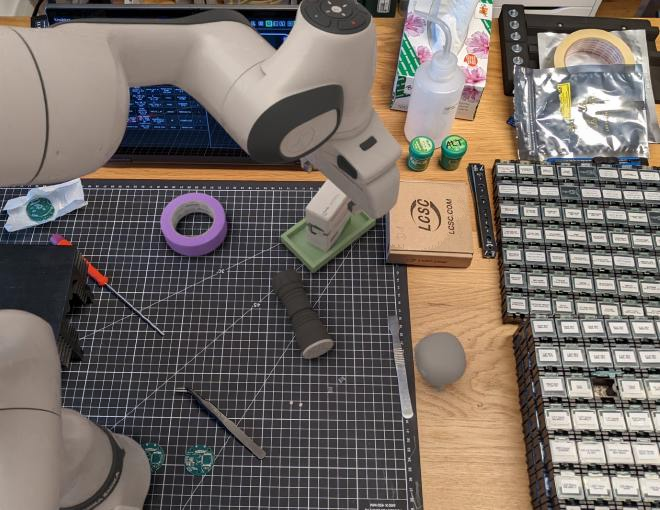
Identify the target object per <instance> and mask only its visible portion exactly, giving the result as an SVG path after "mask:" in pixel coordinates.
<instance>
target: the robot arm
mask: <svg viewBox="0 0 660 510" xmlns="http://www.w3.org/2000/svg"><path fill="white" fill-rule="evenodd" d="M377 65H378V34H377V28H376V23H375V20H374V18H373V15H372V14H371V11H369V10H368V9H367V8H366V7H365V6H364V5H363V4H361V3H360V2H359V1H357V0H302V1H300V3H299V5H298V8H297V10H296V16H295V21H294V24H293V26H292V28H291V30H290V32H289V33H288V35H287V36H286V38H285V40H284V41H283V42H282V44H280V46H279V47H278V49H276V48H275V47H273V45H271V44H270V42H268V41H267V40H266V39H265V38H264V37H263V36H262V34H261V33H260V32H259V31H258V30H257V29H256V27H255V26H254V25H253V24H252V23H251V22H250V20H248V18H246V16H244V15H243V14H242V13H240V12H238V11H236V10H233V9H229V8H215V9H210V10H205V11H202V12H198V13H195V14H191V15H188V16H184V17H178V18H125V17H124V18H119V17H117V18H114V17H112V18H111V17H106V18H105V17H94V18H91V17H90V18H76V19H75V18H74V19H67V20H63V21H58V22H55V23H53V24H51V25H49V26H47V27H23V26H12V25H11V26H10V25H1V24H0V188H10V187H23V186H24V187H25V186H26V187H27V186H35V185H36V186H37V185H48V184H50V185H51V184H58V183H64V182H68V181H69V182H70V181H73V180H74V181H75V180H77V179H80V178H83V177H87V176H89V175H91V174H93V173H96V172H97V171H99V170H100V169H101V168H102V167H104V165H106V163H107V162H108V161H110V160H111V158H112V157H113V155H115V153H116V152H117V150H118V149H119V146H120V144H121V143H122V140H123V138H124V135H125V132H126V129H127V127H128V126H127V125H128V121H129V115H130V104H131V103H130V101H131V99H130V97H131V95H130V88H140V87H150V86H158V85H160V86H161V85H171V86H174V87H177V88H179V89H180V90H182V91H184V92H185V93H187V94H188V95H189V96H191V98H193V99H195V100H196V101H197V102H198V104H200V105H201V106H202V107H203V108H204V109H205V110H206V111H207V112H208V113H209V115H211V116H212V118H214V119H215V120H216V122H217V124H219V125H220V126H221V127H222V128H223V129H224V130H225V132H226V133H227V134H228V135H229V136H230V137H231V138H232V139H233V140H234V142H235V143H237V144H238V145H239V147H240V148H241V149H242V150H243V151H244V152H245V153H246V154H247V155H248V156H249V157H250V158H251V159H253V161H255V162H257V163H260V164H265V165H280V164H286V163H290V162H294V161H298V160H300V167H301V168H302V169H303V170H304V171H305V172H306V173H307V174H311V173H313V171H316V170H317V171H319V172H320V173H321V175H323V176H324V177H325V178H326V179H329V180H330V181H331V182H332V183H333V184H334V185H335V186H336V187H338V188H339V189H340V190H341V191H342V192H343V193H344V194H345V195H346V196H348V197H349V198H350V199H351V201H350V202H349V203H348V205H347V206H348V208H347V209H348V210H349V211H350V212H351V213H352V214H353V215H354V216H357V215H358V214H359V213H360V212H362V211H364V212H365V213H366V214H367V215H368V216H369V217H371V218H372V219H376V220H377V219H381V218H382V217H384V216H385V215H386V214H387V213H389V212H390V211H391V210H392V209H393V208H394V207H395V206H396V205H397V203H398V198H399V194H400V193H399V192H400V184H401V183H400V182H401V175H400V168H399V167H398V164H397V162H398V161H399V160H400V159H401V158H402V155H403V148H402V146H401V144H400V143H399V142H398V140H397V139H396V138H395V137H394V136H393V135H392V133H391V132H390V131H389V129H388V128H387V127H386V125H385V124H384V122H383V121H382V120H381V119H382V118H380V115H379V113H378V112H377V110H376V109H375V107H374V104H373V103H374V102H373V101H374V100H373V96H372V95H373V94H372V92H371V91H372V90H373V88H374V85H375V82H376V76H377V67H378V66H377ZM151 475H152V473H151V464H150V460H149V458H148V456H147V453H146V451H145V450H144V448H143V447H142V446H141V444H139V443H138V441H136V440H134V438H132V437H129V436H127V435H125V434H122V433H116V432H113V431H112V430H110V429H109V428H108V427H105V426H103V425H102V424H100V423H99V422H97V421H94V420H91V419H89V418H88V417H86V416H85V415H84V414H83V413H81V412H80V411H77V410H75V409H72V408H68V407H62V363H61V359H60V354H59V350H58V345H57V341H56V339H55V334H54V330H53V327H52V326H51V324H50V323H49V322H47V321H46V320H45V319H43V318H42V317H40V316H38V315H36V314H34V313H31V312H29V311H27V310H21V309H13V308H11V309H9V308H7V309H6V308H5V309H0V510H143V508H144V503H145V501H146V498H147V496H148V493H149V490H150V486H151V479H152V476H151Z"/></svg>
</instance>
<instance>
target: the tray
mask: <svg viewBox="0 0 660 510" xmlns="http://www.w3.org/2000/svg"><path fill="white" fill-rule="evenodd" d="M376 221H377V219H372V218H371V217H369V216H368V215H367V214H366V213H365V212H364V211H362V212H360V213H359V214H358V215H357V216H354V215H353V214H352V213H351V221H350V223H349V224H348V226H347V227H346V228H345V230H344V231H343V233H342V234H341V236H340V237H339V238H338V240H337V241H336V243H335V244H334V246H333V247H332V248H331V250H330V251H328V252H327V253H324V252H322V251H321V250H319V249H317V248H315V247H313V246H312V245H310V244H308V243H307V235H306V216H305V217H304V218H302V219H301V220H300V221H298V222H297V223H295V224H294V225H293V226H291V227H290V228H289V229H287V230H286V231H285V232H284V233H282V234H280V242H281V243H282V244H283V245H284V246H285V247H286V248H287V249H288V250H289V251H290V252H291V254H293V255H294V256H295V257H296V259H298V260H299V261H300V262H301V263H302V264H303V265H304V266H305V267H306V268H307V269H308V270H309V271H310V272H311V273H312V274H315V273H316V272H317V271H319V270H320V269H321V268H322V267H324V266H325V265H326V264H327V263H328V262H330V261H331V260H332V259H334V258H335V257H337V256H338V255H340V253H341V252H343V251H344V250H345V249H346V248H348V247H349V246H350V245H352V244H353V243H354V242H356V240H358V239H359V238H361V237H362V236H363V235H364V234H365V233H367V232H368V231H370V229H372V228H373V227H375V226H376Z"/></svg>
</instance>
